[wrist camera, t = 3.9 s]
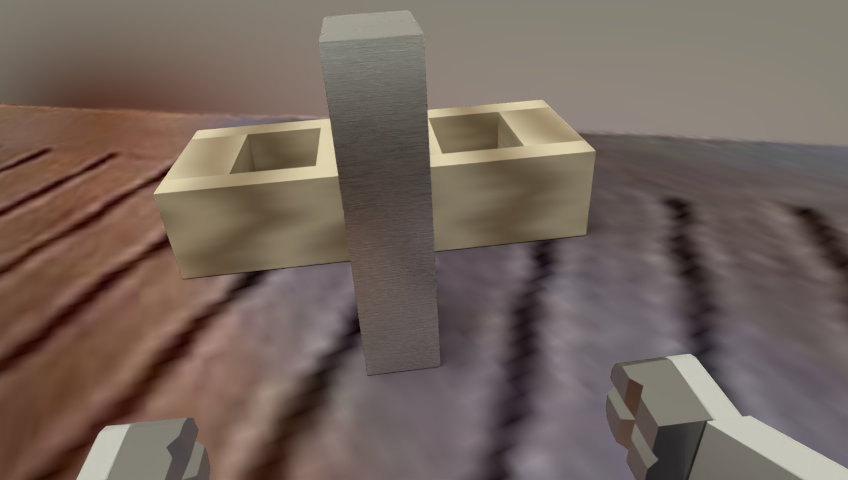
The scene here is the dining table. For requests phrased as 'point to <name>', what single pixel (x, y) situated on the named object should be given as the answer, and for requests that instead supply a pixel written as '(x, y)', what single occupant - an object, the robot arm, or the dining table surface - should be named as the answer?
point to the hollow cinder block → (321, 198)
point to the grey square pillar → (385, 182)
